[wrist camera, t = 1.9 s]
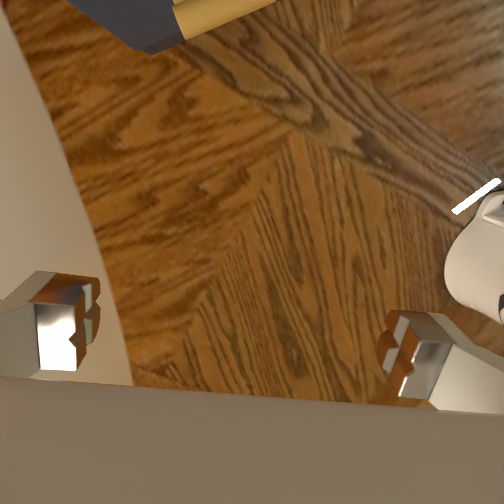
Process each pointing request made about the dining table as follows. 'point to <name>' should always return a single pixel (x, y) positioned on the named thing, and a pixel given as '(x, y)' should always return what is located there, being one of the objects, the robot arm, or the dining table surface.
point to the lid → (163, 17)
